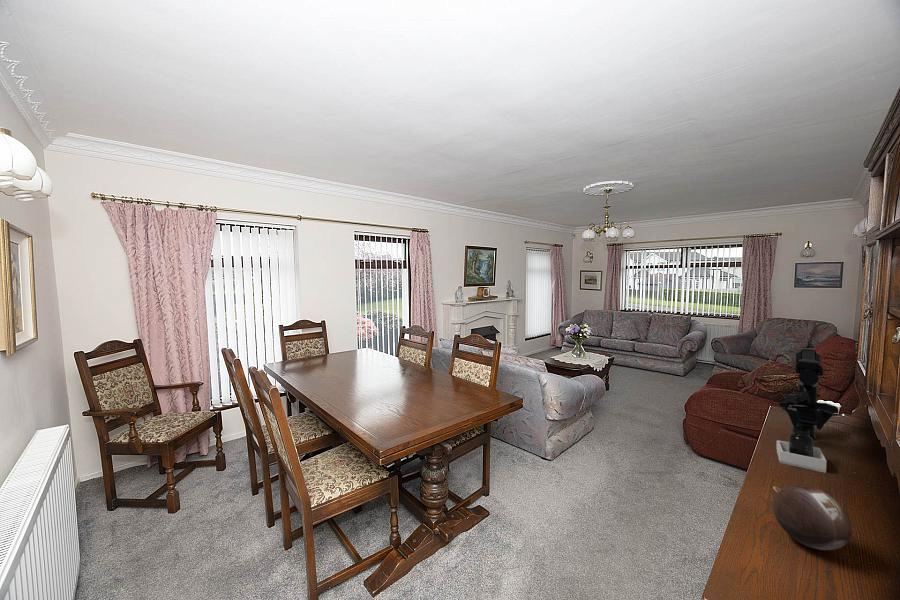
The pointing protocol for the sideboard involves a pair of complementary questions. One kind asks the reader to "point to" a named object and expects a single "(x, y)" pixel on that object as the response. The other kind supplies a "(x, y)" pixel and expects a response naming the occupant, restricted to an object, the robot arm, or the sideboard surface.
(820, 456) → the tray
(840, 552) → the sideboard surface
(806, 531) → the dark glossy egg
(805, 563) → the sideboard surface
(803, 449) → the supplement bottle
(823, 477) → the sideboard surface
